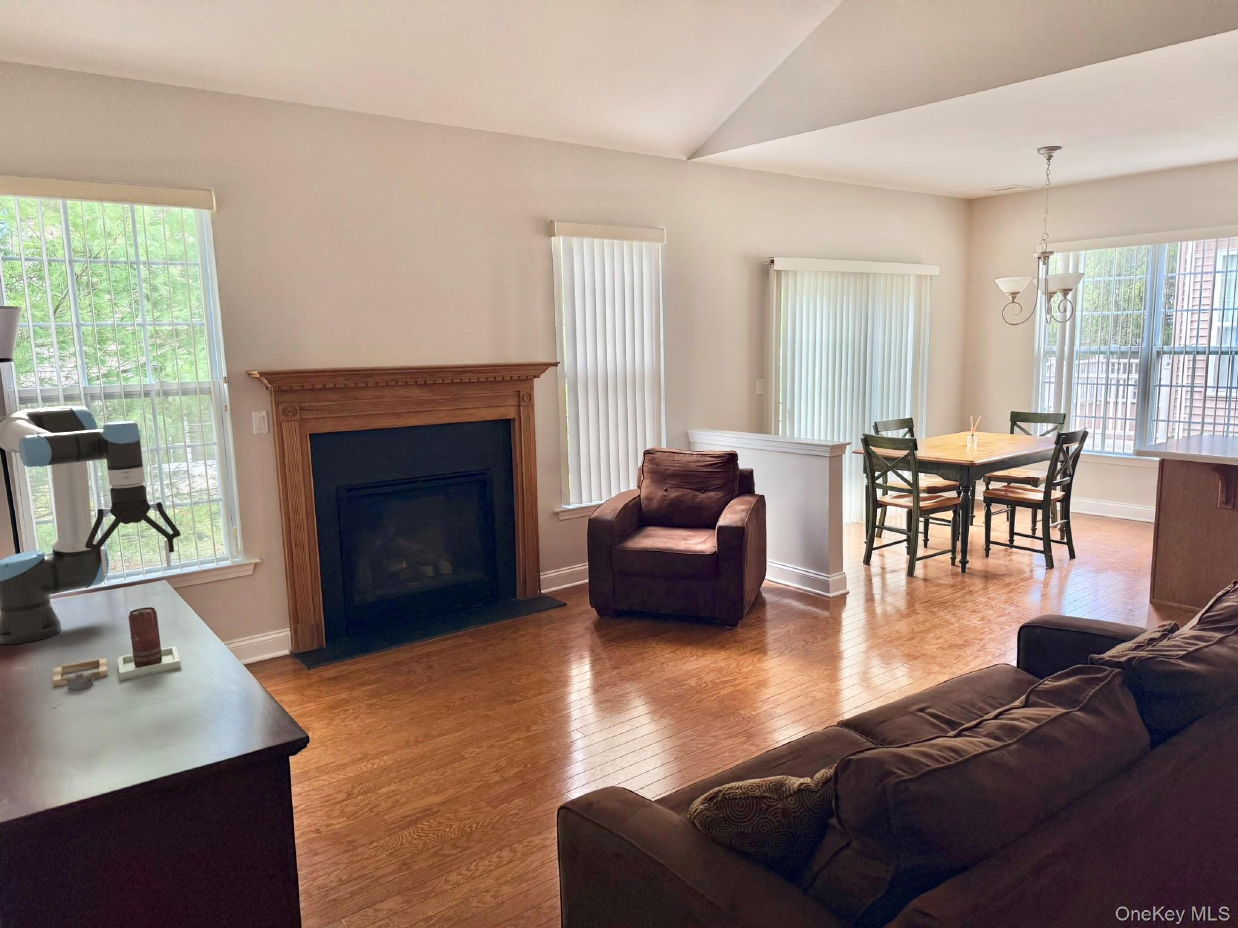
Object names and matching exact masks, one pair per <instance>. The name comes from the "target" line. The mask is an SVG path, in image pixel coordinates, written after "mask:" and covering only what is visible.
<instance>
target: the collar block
mask: <svg viewBox="0 0 1238 928" xmlns="http://www.w3.org/2000/svg"><path fill="white" fill-rule="evenodd" d="M96 667H98V668H99V669H95V670H91V671H85V672H77V673H74V674H71V675H63V674H65V673H72V672H76V671H82V670H87V669H92V668H96ZM108 671H109V669H108V659H107V656H105V657H104V656H103V657H98V658H93V659H89V660H88V659H87V660H83V661H78V662H73V663H66V664H63V665H57V666H54V668H53V677H52V682H53V683H52V684H53V688H56V687H60V686H65V685H67V689H68V691H70V692H79V691H84V690H88V689H90V688H92V687H93V686H94V681H93V680H96V679H100V678H105V677H109V675H108Z"/></svg>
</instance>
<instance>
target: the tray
mask: <svg viewBox="0 0 1238 928" xmlns="http://www.w3.org/2000/svg"><path fill="white" fill-rule="evenodd" d="M161 653H162V661H161V663H160V664H155V665H150V666H145V667H140V668H137V667H136V666H135V665H134V658H133V653H132V654H128V655H122V656H117V662H118V675H119V681H125V680H132V679H137V678H141V677H145V676H151V675H155V674H159V673H165V672H170V671H175V670H180V669H182V668H181V660H180V656H179V653H178V649H177V646H176V645H174V646H170V647H163V648H161Z"/></svg>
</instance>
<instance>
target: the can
mask: <svg viewBox="0 0 1238 928" xmlns="http://www.w3.org/2000/svg"><path fill="white" fill-rule="evenodd" d="M128 622H129V623H128V624H129V631H130V632H129V633H130V639H131V640H130V642H131V648H132V654H133V658H134V665H135V666H136V667H137V668H140V667H145V666H150V665H155V664H160V663H161V661H162V653H161V649H162V645H161V638H160V637H161V636H160V630H159V629H160V628H159V620H158V612H157V610H156V609H155V608H154V607H149V606H148V607H140V608H136V609H133V610H131V611H130V612H129V615H128Z"/></svg>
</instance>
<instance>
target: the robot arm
mask: <svg viewBox="0 0 1238 928" xmlns="http://www.w3.org/2000/svg"><path fill="white" fill-rule="evenodd" d="M141 443H142V442H141V433H140V430H139V425H138V423H137V422H136V421H131V420H130V421H126V420H125V421H114V422H113V421H112V422H106V423H104V424H103V425H102V427H100V428H98V424H97V421H96V420H95V417H94V414H93V413H92V412H91V410H90V409H89V408H88V407H86V406H83V405H64V406H63V405H62V406H51V407H38V408H37V407H36V408H24V409H19V410H14V411H12V412H10V413H7V414H5V415H4V416H2V417H0V449H3V450H4V451H6V452H9V453H14V454H19V457H20V460H21V461H22V464H23V466H25V467H28V468H32V467H33V468H34V467H39V468H43V467H47V466H51V475H52V477H51V478H52V489H53V501H54V509H55V510H54V511H55V521H56V524H55V525H56V531H57V532H56V534H57V541H55V542H54V543H53V545H52V546H51V547H52V553H48V554H47V553H45V552H44V551H43V550H41V549H40V550H38V549H37V550H31V551H24V552H21V553H20V552H19V553H16V554H13V555H9V556H7V557H4V558H3V559H0V644H2V645H16V644H23V643H24V644H25V643H30V642H36V641H39V640H43V639H47V638H49V637H52V636H55V635H57V634H58V633H60V632H61V631H62V624H61V620H60V618H59V617H58V616H57V613H56V612H55V609H54V608H53V606H52V604H51V603H52V602H51V595H57V594H60V593H65V592H70V591H75V590H80V589H81V590H82V589H88V588H91V587H93V586H99V585H101V584H102V583H103V582H104V581H105V580H106V579H107V576H108V575H109V574H108V573H109V568H110V567H109V565H110V562H109V561H110V560H109V556H108V554H109V553H108V550H107V548H106V547H105V543H106V542H107V540H108V539H109V538H110V537H111V535H112V534H113V533H114V532H115V530H116V529H117V528H118V527H119V525H120V524H124V525H129V524H131V523H132V524H138V523H139V524H140V523H141V522H142V521H143V522H145V523H146V524H148V525H149V526H150V527H152V528H153V529H154V530H156V531H157V532H158V533H159V534H160V535H162V537H165V539H163V543H164V545H163V546H164V553H165V562H166V568H169V567H172V565H171V563H172V562H171V557H170V554H171V553H174V552H175V546H174V539H176V538H178V537H180V536H181V535H182V534H181V531H180V530H179V528H177V526H176V525H175V523H174V522H173V521H172V519H171V518H170V517H169V515H168V514H167V513H166V511H165V509H164V506H163V503H162V501H161V500H158V501H156V502H152V503H149V502H148V496H147V487H146V485H145V484H144V483H145V481H146V479H145V471H144V463H143V452H142V444H141ZM102 460H106V465H107V466H106V468H107V477H108V482H109V486H111V488H110V489H109V493H110V500H111V507H107V508H105V507H104V508H103V507H98V508H97V512H96V513H97V516H96V519H95V521H94V524H92V523H93V521H92V519H93V518H92V507H91V496H90V483H89V471H88V462H93V461H102ZM150 509H153V511H154V512H158V514H159V515H160V516H161V518H162V520H163V521H164V522H165V524H166V525H167V526H168V527H169V529H170V530H171V532H172V533H170V532H169V531H168V530H166V529H165V528H164V527H162V526H161V525H160V524H159V523H158V522H156V521H155V520H154V519H153V518H151V516H149V515H148V513H149V511H150ZM108 514H111V515H112V516H113V517H114V519H113V521H112V522H111V524H109V525H108V527H107V528H106V530H105V531H104V532H103V534H102V535H101V536H100V538H99V539H97V538H96V537H97V534H98V532H99V530H100V527H101V525H102V523H103V519H104V518H106V517H107V516H108Z"/></svg>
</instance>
